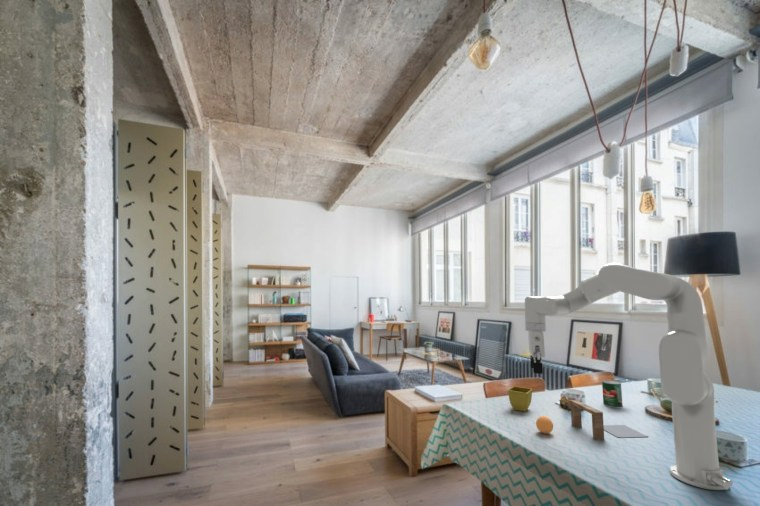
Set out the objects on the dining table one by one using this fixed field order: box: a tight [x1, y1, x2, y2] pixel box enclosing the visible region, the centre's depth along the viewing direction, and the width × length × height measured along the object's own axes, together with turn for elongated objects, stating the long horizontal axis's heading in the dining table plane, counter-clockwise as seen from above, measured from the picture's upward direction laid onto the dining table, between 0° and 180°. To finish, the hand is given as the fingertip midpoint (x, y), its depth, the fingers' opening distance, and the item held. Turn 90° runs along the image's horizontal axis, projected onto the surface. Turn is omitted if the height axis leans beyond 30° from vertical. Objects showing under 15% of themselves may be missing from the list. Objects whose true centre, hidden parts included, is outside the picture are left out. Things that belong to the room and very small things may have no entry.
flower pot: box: [507, 385, 533, 412], centre depth 165 cm, size 9×9×9 cm
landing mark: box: [604, 424, 649, 439], centre depth 139 cm, size 12×12×1 cm
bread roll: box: [559, 395, 584, 411], centre depth 169 cm, size 10×10×8 cm
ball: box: [535, 415, 554, 435], centre depth 137 cm, size 6×6×6 cm
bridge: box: [570, 400, 605, 441], centre depth 139 cm, size 15×3×10 cm, turn 5°
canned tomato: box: [601, 379, 623, 408], centre depth 173 cm, size 8×8×11 cm
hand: (536, 370), depth 142 cm, fingers open, 9 cm apart
